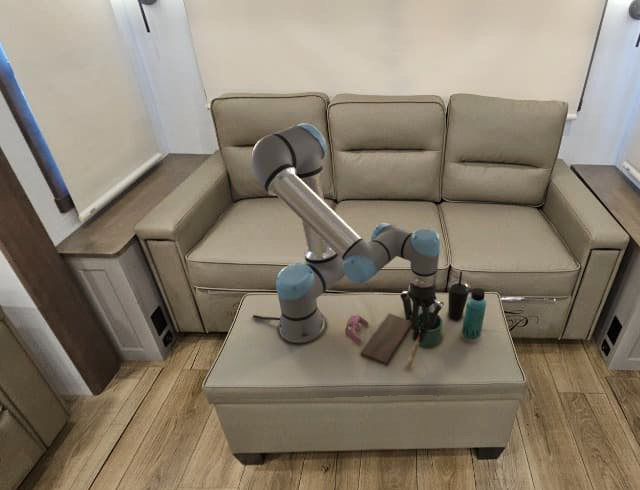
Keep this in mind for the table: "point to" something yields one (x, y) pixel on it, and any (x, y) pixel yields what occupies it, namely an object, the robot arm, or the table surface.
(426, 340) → the coffee cup
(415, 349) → the stirrer
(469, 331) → the beverage bottle
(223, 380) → the table surface
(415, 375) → the table surface
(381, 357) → the board
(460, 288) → the drinking cup
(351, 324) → the video game controller
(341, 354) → the table surface
